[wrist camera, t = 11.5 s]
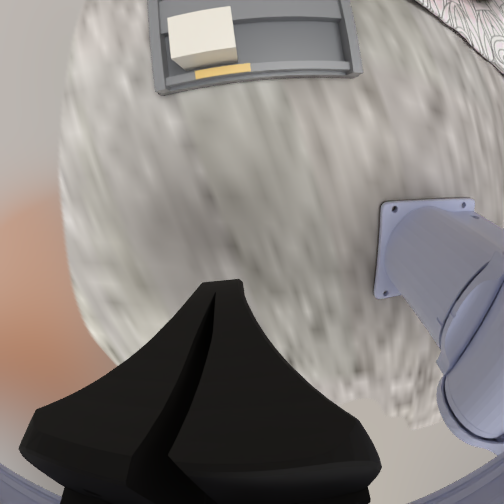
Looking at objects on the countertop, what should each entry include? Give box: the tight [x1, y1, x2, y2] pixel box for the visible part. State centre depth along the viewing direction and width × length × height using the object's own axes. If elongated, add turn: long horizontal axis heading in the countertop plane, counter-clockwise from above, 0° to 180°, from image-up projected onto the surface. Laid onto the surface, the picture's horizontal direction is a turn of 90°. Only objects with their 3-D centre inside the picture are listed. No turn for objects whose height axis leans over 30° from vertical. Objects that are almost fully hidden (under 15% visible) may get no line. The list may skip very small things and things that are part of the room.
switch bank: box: [147, 0, 363, 96], centre depth 12 cm, size 12×10×2 cm
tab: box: [167, 6, 238, 71], centre depth 11 cm, size 3×2×4 cm
